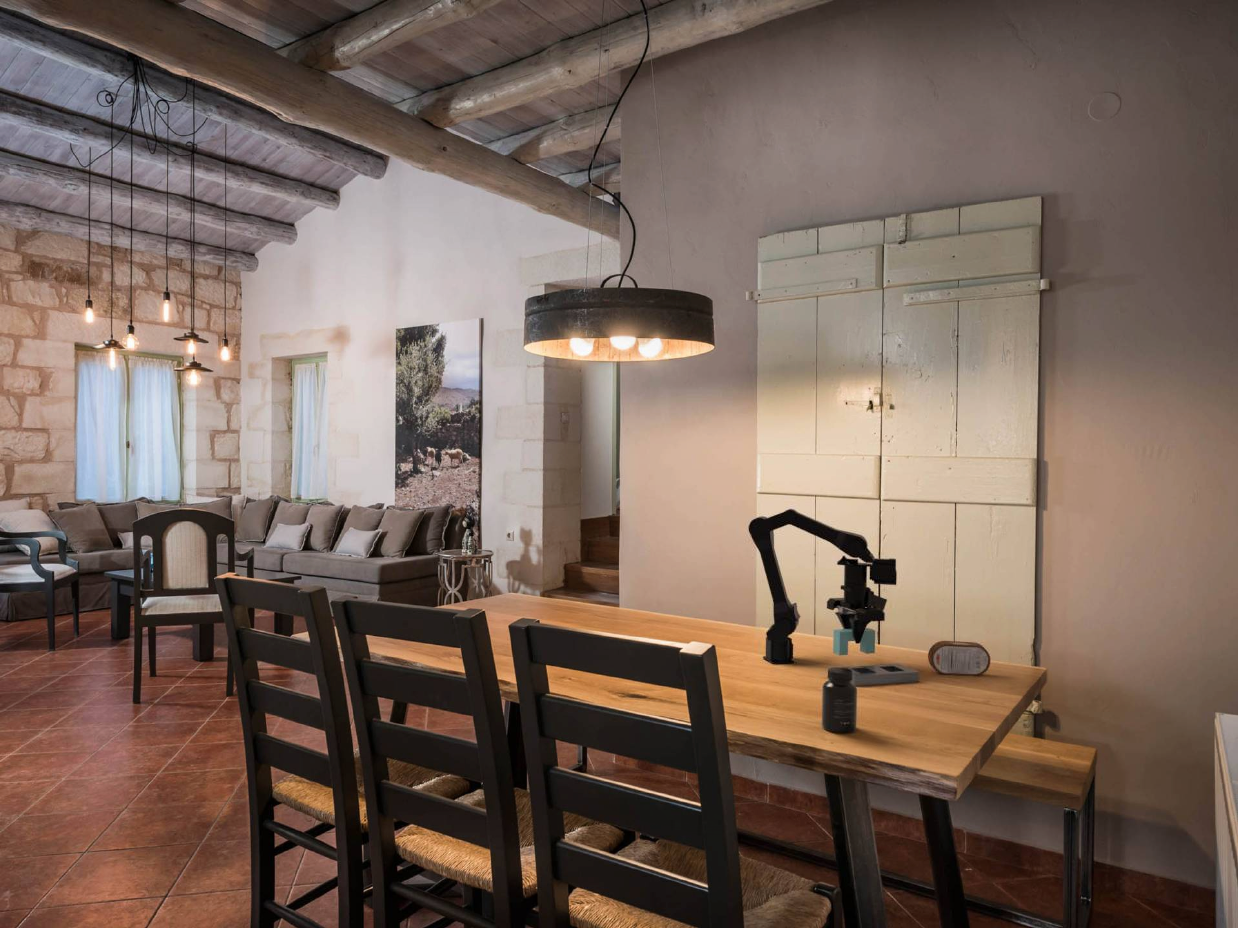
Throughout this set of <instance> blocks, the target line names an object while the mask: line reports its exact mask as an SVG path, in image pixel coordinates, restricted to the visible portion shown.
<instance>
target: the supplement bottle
mask: <svg viewBox="0 0 1238 928" xmlns="http://www.w3.org/2000/svg"><path fill="white" fill-rule="evenodd" d="M842 667H843V666H832V667H829V668H828V669H827V676H826V677H827V679H828V680H826V681H824V683H823V685H822V690H821V695H822V696H821V700H822V701H821V726H822V728H823V729H824V730H826V731H828V732H830V733H833V734H841V735H845V734H852V733H854V732H855V731H856V730H857V720H858V719H857V716H858V715H857V714H858V711H857V710H858V688H857V686H855V685H854V684H853V683H851V681H852V680H853V677H852V671H851V670H850V669H847V668H842Z"/></svg>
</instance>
